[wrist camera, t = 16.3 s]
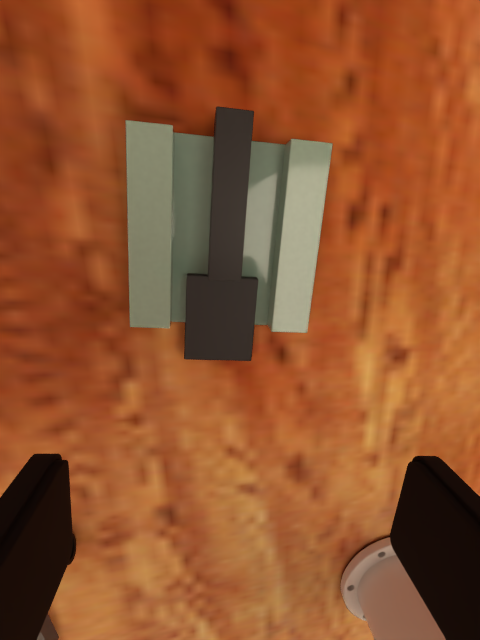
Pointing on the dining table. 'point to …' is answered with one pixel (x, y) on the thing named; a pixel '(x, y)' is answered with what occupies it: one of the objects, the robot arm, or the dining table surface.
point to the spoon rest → (194, 223)
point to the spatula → (224, 252)
